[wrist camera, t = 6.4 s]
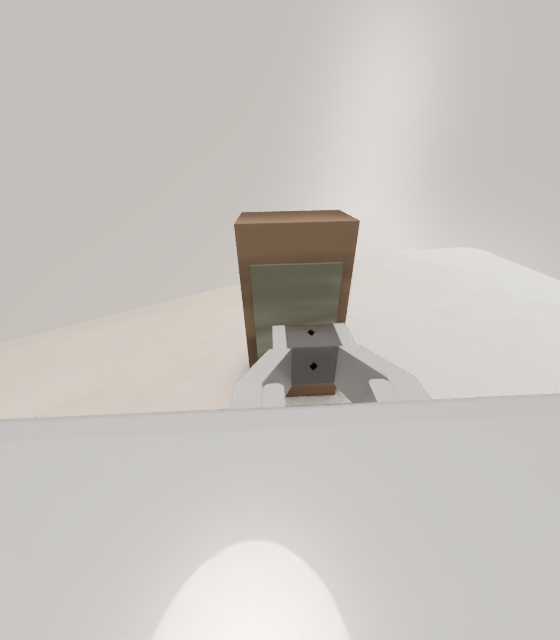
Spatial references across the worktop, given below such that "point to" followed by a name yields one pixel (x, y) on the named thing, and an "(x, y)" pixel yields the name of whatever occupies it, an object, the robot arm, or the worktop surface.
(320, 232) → the walnut cabinet
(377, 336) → the worktop surface
